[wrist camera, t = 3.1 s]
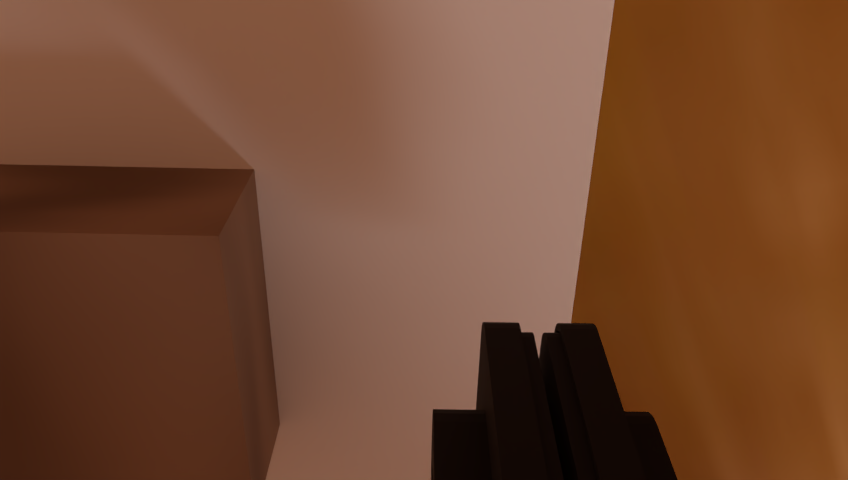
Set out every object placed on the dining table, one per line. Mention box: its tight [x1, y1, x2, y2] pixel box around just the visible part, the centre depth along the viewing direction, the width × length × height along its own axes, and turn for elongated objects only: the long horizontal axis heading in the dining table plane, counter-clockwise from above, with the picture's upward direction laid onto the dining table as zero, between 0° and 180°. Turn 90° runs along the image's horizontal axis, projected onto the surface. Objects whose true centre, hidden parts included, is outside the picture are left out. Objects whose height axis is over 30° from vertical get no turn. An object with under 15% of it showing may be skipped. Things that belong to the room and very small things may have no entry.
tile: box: [0, 164, 280, 480], centre depth 14 cm, size 8×6×2 cm
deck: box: [0, 0, 615, 480], centre depth 17 cm, size 18×16×4 cm
